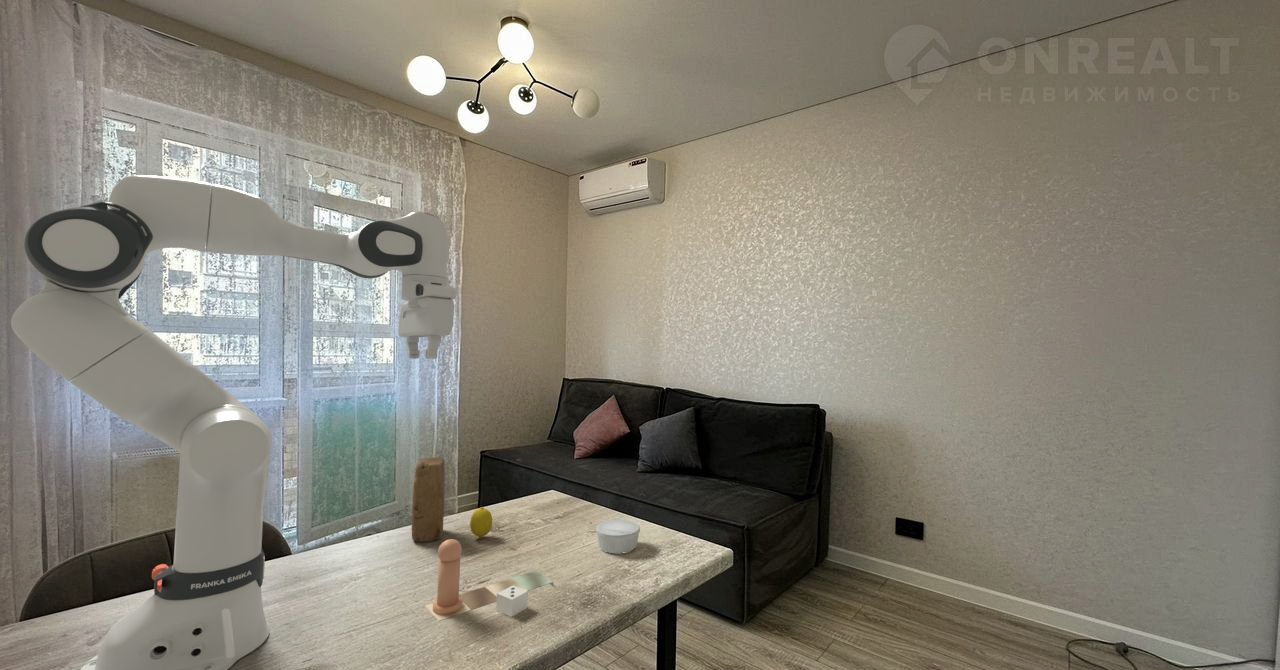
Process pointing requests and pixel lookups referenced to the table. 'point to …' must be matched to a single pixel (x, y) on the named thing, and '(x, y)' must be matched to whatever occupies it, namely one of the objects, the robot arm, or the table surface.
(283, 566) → the table surface
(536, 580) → the board
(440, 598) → the round-topped peg
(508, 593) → the die
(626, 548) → the ramekin
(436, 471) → the block
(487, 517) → the lemon
